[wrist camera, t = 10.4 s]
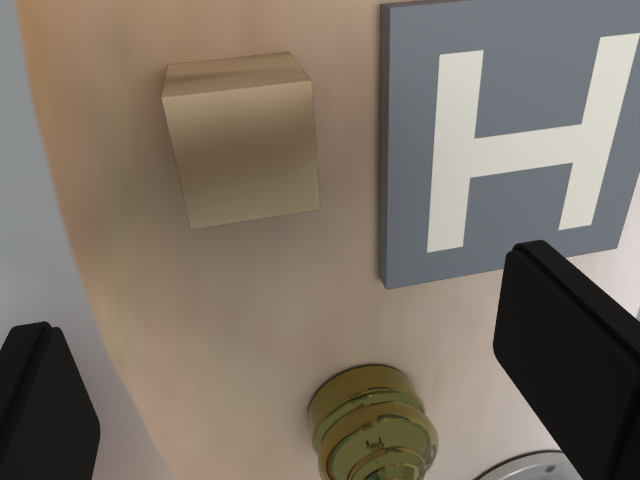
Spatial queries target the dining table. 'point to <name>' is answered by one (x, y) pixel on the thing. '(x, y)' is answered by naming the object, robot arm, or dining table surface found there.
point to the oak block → (242, 137)
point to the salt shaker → (371, 427)
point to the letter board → (504, 131)
